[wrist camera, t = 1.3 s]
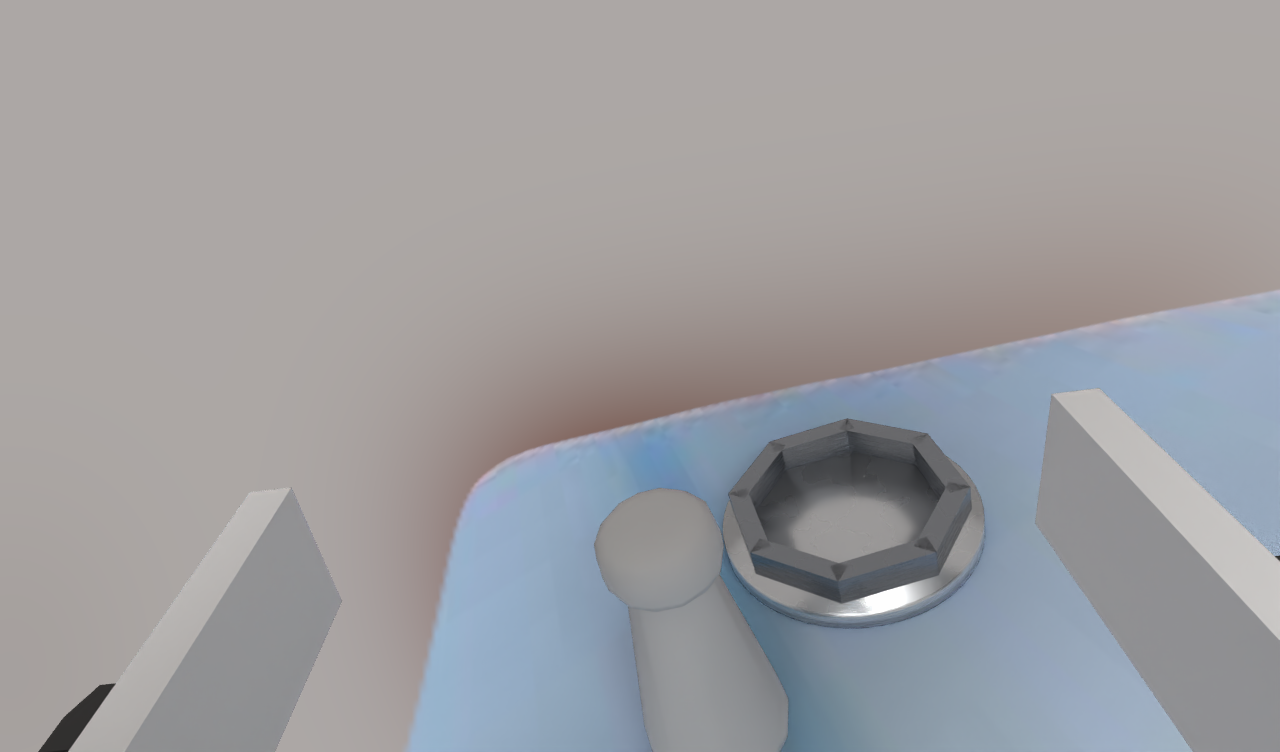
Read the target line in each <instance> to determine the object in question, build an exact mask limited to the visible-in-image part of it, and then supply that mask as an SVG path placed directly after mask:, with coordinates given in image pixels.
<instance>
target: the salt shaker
mask: <svg viewBox="0 0 1280 752" xmlns="http://www.w3.org/2000/svg"><path fill="white" fill-rule="evenodd" d="M594 547H595V553H596V559H597V562H598V565H599V568H600V571H601V575H602V578H603V580H604V582H605V584H606V585H607V587H608V589H609V591H610V592H612V593H613V594H614V595H615V596H616V597H618V598H619V599H620V600H621V601H623V602H624V603H625V604H626V605H628V609H629V617H630V624H631V631H632V638H633V646H634V653H635V660H636V668H637V675H638V682H639V689H640V697H641V704H642V711H643V718H644V726H645V729H646V732H647V735H648V738H649V741H650V745H651V748H652V751H653V752H780V751H781V749H782V747H783V745H784V743H785V741H786V739H787V737H788V697H787V695H786V693H785V691H784V688H783V686H782V684H781V682H780V680H779V678H778V676H777V674H776V672H775V670H774V669H773V667H772V665H771V663H770V662H769V660H768V658H767V656H766V655H765V653H764V651H763V649H762V648H761V646H760V644H759V642H758V641H757V639H756V637H755V635H754V634H753V632H752V630H751V629H750V627H749V625H748V623H747V622H746V620H745V618H744V616H743V615H742V613H741V611H740V609H739V608H738V606H737V604H736V602H735V601H734V599H733V597H732V595H731V594H730V592H729V590H728V588H727V587H726V585H725V583H724V581H723V580H722V578H721V576H720V571H721V564H722V556H723V548H724V544H723V539H722V534H721V531H720V529H719V527H718V525H717V523H716V521H715V519H714V517H713V515H712V513H711V511H710V509H709V508H708V506H707V504H706V502H705V501H703V500H701V499H700V498H698V497H696V496H694V495H692V494H690V493H688V492H686V491H681V490H674V489H664V488H658V489H653V490H649V491H645V492H641V493H637V494H636V495H634V496H632V497H630V498H628V499H627V500H625V501H623V502H621V503H619V504H618V506H617V507H616V508H615V509H614V510H613V511H612V512H611V513H610V514H609V516H608V517H607V518H606V519H605V520H604V521H603V523H602V524H601V525H600V528H599V531H598V534H597V537H596V540H595V543H594Z"/></svg>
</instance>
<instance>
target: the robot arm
mask: <svg viewBox="0 0 1280 752" xmlns="http://www.w3.org/2000/svg"><path fill="white" fill-rule="evenodd" d="M1035 523H1036V525H1037V526H1038V528H1039V529H1040V531H1041V532H1042V534H1043V535H1044V536H1045V538H1046V539H1047V541H1048V542H1049V544H1050V545H1051V547H1052V548H1053V549H1054V551H1055V552H1056V554H1057V555H1058V557H1059V558H1060V560H1061V561H1062V563H1063V564H1064V565H1065V567H1066V568H1067V570H1068V571H1069V573H1070V574H1071V576H1072V577H1073V578H1074V580H1075V581H1076V583H1077V584H1078V586H1079V587H1080V589H1081V590H1082V591H1083V593H1084V594H1085V596H1086V597H1087V599H1088V600H1089V602H1090V603H1091V605H1092V606H1093V607H1094V609H1095V610H1096V612H1097V613H1098V615H1099V616H1100V618H1101V619H1102V620H1103V622H1104V623H1105V625H1106V626H1107V628H1108V629H1109V631H1110V632H1111V633H1112V635H1113V636H1114V638H1115V639H1116V641H1117V642H1118V644H1119V645H1120V647H1121V648H1122V649H1123V651H1124V652H1125V654H1126V655H1127V657H1128V658H1129V660H1130V661H1131V662H1132V664H1133V665H1134V667H1135V668H1136V670H1137V671H1138V673H1139V674H1140V675H1141V677H1142V678H1143V680H1144V681H1145V683H1146V684H1147V686H1148V687H1149V689H1150V690H1151V691H1152V693H1153V694H1154V696H1155V697H1156V699H1157V700H1158V702H1159V703H1160V704H1161V706H1162V707H1163V709H1164V710H1165V712H1166V713H1167V715H1168V716H1169V717H1170V719H1171V720H1172V722H1173V723H1174V725H1175V726H1176V728H1177V729H1178V731H1179V732H1180V733H1181V735H1182V736H1183V738H1184V739H1185V741H1186V742H1187V744H1188V745H1189V746H1190V748H1191V749H1192V751H1193V752H1280V556H1274V555H1273V554H1272V553H1271V552H1269V551H1268V550H1267V549H1266V548H1265V547H1264V546H1263V545H1262V544H1261V543H1260V542H1259V541H1258V540H1257V539H1256V538H1255V537H1254V536H1253V535H1252V534H1251V533H1250V532H1249V531H1248V530H1247V529H1245V528H1244V527H1243V526H1242V525H1241V524H1240V523H1239V522H1238V521H1237V520H1236V519H1235V518H1234V517H1233V516H1232V515H1231V514H1230V513H1229V512H1228V511H1227V510H1226V509H1225V508H1224V507H1223V506H1221V505H1220V504H1219V503H1218V502H1217V501H1216V500H1215V499H1214V498H1213V497H1212V496H1211V495H1210V494H1209V493H1208V492H1207V491H1206V490H1205V489H1204V488H1203V487H1202V486H1201V485H1200V484H1199V483H1197V482H1196V481H1195V480H1194V479H1193V478H1192V477H1191V476H1190V475H1189V474H1188V473H1187V472H1186V471H1185V470H1184V469H1183V468H1182V467H1181V466H1180V465H1179V464H1178V463H1177V462H1176V461H1175V460H1173V459H1172V458H1171V457H1170V456H1169V455H1168V454H1167V453H1166V452H1165V451H1164V450H1163V449H1162V448H1161V447H1160V446H1159V445H1158V444H1157V443H1156V442H1155V441H1154V440H1153V439H1152V438H1151V437H1149V436H1148V435H1147V434H1146V433H1145V432H1144V431H1143V430H1142V429H1141V428H1140V427H1139V426H1138V425H1137V424H1136V423H1135V422H1134V421H1133V420H1132V419H1131V418H1130V417H1129V416H1128V415H1127V414H1126V413H1124V412H1123V411H1122V410H1121V409H1120V408H1119V407H1118V406H1117V405H1116V404H1115V403H1114V402H1113V401H1112V400H1111V399H1110V398H1109V397H1108V396H1107V395H1106V394H1105V393H1104V392H1103V391H1102V390H1100V389H1099V388H1096V389H1088V390H1080V391H1072V392H1063V393H1055V394H1052V395H1051V403H1050V411H1049V419H1048V426H1047V434H1046V442H1045V450H1044V458H1043V465H1042V473H1041V481H1040V489H1039V497H1038V504H1037V512H1036V520H1035ZM341 602H342V600H341V598H340V595H339V593H338V591H337V589H336V587H335V584H334V582H333V580H332V577H331V575H330V573H329V571H328V569H327V566H326V564H325V562H324V559H323V557H322V555H321V553H320V550H319V549H318V546H317V544H316V542H315V539H314V537H313V535H312V533H311V530H310V528H309V526H308V524H307V521H306V519H305V517H304V514H303V512H302V510H301V508H300V505H299V503H298V501H297V499H296V496H295V494H294V492H293V490H292V488H291V487H290V488H282V489H274V490H265V491H257V492H250V493H249V494H248V496H247V498H246V499H245V500H244V502H243V503H242V504H241V506H240V507H239V509H238V510H237V512H236V513H235V514H234V516H233V517H232V519H231V520H230V521H229V523H228V524H227V526H226V527H225V529H224V530H223V531H222V533H221V534H220V536H219V537H218V539H217V540H216V541H215V543H214V544H213V546H212V547H211V549H210V550H209V551H208V553H207V554H206V556H205V557H204V559H203V560H202V562H201V563H200V564H199V566H198V567H197V569H196V570H195V572H194V573H193V574H192V576H191V577H190V579H189V580H188V581H187V583H186V585H185V586H184V587H183V589H182V590H181V591H180V593H179V595H178V596H177V597H176V599H175V600H174V601H173V603H172V604H171V606H170V607H169V609H168V610H167V612H166V613H165V614H164V616H163V617H162V619H161V620H160V622H159V623H158V624H157V626H156V627H155V629H154V630H153V631H152V633H151V634H150V636H149V637H148V638H147V640H146V641H145V643H144V644H143V646H142V647H141V648H140V650H139V651H138V653H137V654H136V656H135V657H134V659H133V660H132V661H131V663H130V664H129V666H128V667H127V669H126V670H125V671H124V673H123V674H122V676H121V677H120V678H119V680H118V681H117V683H115V684H106V685H100V686H98V687H97V688H96V689H95V690H94V691H93V692H92V693H91V694H90V695H88V696H87V697H86V698H85V699H84V700H83V701H82V702H80V703H79V704H78V705H77V706H76V707H75V708H74V709H73V710H72V711H70V712H69V713H68V714H67V715H66V716H65V717H64V718H63V719H62V720H61V722H60V723H59V725H58V726H57V727H56V729H55V730H54V731H53V733H52V734H51V735H50V737H49V738H48V739H47V741H46V742H45V744H44V745H43V746H42V748H41V749H40V750H39V752H275V750H276V748H277V746H278V744H279V741H280V739H281V737H282V735H283V732H284V730H285V728H286V726H287V723H288V721H289V719H290V717H291V714H292V712H293V710H294V708H295V706H296V703H297V701H298V698H299V697H300V694H301V692H302V690H303V688H304V685H305V683H306V681H307V678H308V676H309V674H310V672H311V670H312V667H313V665H314V663H315V661H316V658H317V656H318V654H319V652H320V649H321V647H322V645H323V643H324V640H325V638H326V636H327V634H328V631H329V629H330V627H331V625H332V622H333V620H334V618H335V616H336V613H337V611H338V609H339V607H340V604H341Z"/></svg>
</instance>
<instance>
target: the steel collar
mask: <svg viewBox="0 0 1280 752" xmlns="http://www.w3.org/2000/svg"><path fill="white" fill-rule="evenodd" d="M728 495H729V498H730V500H729V502H728V504H727V507H726V510H725V514H724V520H723V538H724V542H725V546H726V550H727V553H728V557H729V560H730V563H731V565H732V568H733V570H734V572H735V574H736V576H737V577H738V579H739V580H740V582H741V583H742V584H743V585H744V587H745V588H746V589H747V590H748V591H749V592H750V593H751V594H752V595H753V596H754V597H756V598H757V599H758V600H759V601H761V602H762V603H763V604H765V605H767V606H768V607H770V608H771V609H773V610H775V611H777V612H779V613H781V614H783V615H786V616H788V617H790V618H793V619H796V620H799V621H803V622H806V623H810V624H815V625H820V626H825V627H837V628H866V627H874V626H882V625H886V624H891V623H895V622H899V621H903V620H905V619H908V618H911V617H914V616H917V615H919V614H921V613H923V612H925V611H927V610H929V609H931V608H933V607H935V606H937V605H938V604H940V603H941V602H943V601H944V600H946V599H947V598H949V597H950V596H951V595H952V594H953V593H955V592H956V591H957V590H958V589H959V588H960V587H961V586H962V585H963V584H964V583H965V582H966V580H967V579H968V578H969V577H970V576H971V574H972V573H973V571H974V569H975V567H976V566H977V564H978V562H979V559H980V557H981V554H982V551H983V547H984V540H985V526H984V508H983V504H982V500H981V497H980V495H979V492H978V490H977V488H976V486H975V485H974V483H973V482H972V480H971V479H970V477H969V476H968V475H967V474H966V473H965V472H964V471H963V470H962V468H961V467H960V466H958V465H957V464H956V463H955V462H953V461H952V460H951V459H950V458H948V457H947V456H945V455H944V453H943V452H942V451H941V450H940V449H939V447H938V446H937V445H936V444H935V442H934V441H933V440H932V439H931V437H930V436H929V435H928V434H926V433H921V432H916V431H911V430H905V429H900V428H895V427H889V426H884V425H879V424H874V423H868V422H863V421H858V420H853V419H848V418H847V419H844V420H841V421H837V422H834V423H831V424H827V425H824V426H821V427H817V428H814V429H811V430H807V431H804V432H801V433H797V434H794V435H791V436H787V437H784V438H781V439H778V440H774V441H771V442H769V444H768V445H767V446H766V447H765V449H764V450H763V451H762V452H761V454H760V455H759V456H758V457H757V459H756V460H755V461H754V462H753V464H752V465H751V466H750V467H749V469H748V470H747V471H746V472H745V474H744V475H743V476H742V477H741V479H740V480H739V481H738V482H737V484H736V485H735V486H734V487H733V489H732V490H731V491H730V492H729V493H728Z"/></svg>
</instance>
